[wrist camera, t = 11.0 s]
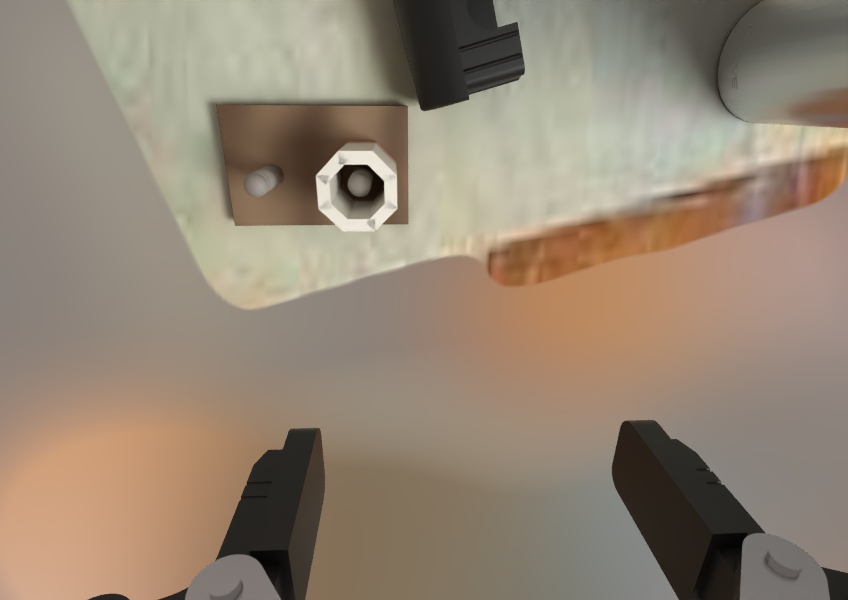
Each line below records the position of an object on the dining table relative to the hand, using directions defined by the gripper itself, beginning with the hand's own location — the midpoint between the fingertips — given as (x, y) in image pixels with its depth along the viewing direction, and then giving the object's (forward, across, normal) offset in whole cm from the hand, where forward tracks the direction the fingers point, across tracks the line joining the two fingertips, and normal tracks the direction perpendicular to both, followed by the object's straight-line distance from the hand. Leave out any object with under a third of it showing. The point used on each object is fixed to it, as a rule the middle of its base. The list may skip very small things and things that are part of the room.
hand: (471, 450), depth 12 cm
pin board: (+29, +8, -4) cm, 31 cm away
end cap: (+30, -2, -14) cm, 33 cm away
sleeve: (+28, +4, -3) cm, 28 cm away
